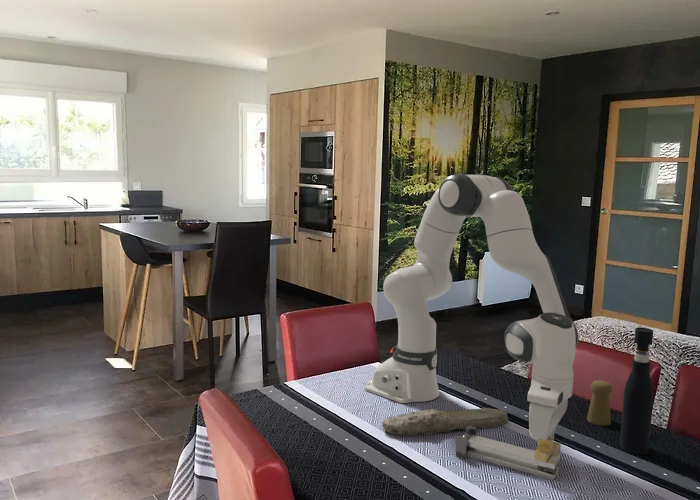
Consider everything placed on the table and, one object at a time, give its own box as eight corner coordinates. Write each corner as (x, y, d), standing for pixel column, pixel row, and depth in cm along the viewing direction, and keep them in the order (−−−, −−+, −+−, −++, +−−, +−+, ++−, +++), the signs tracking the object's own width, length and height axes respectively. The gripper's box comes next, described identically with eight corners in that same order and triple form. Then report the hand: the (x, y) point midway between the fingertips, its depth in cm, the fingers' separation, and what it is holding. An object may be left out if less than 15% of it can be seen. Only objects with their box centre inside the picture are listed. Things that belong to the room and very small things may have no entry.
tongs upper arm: (457, 447, 140) (458, 437, 140) (465, 439, 144) (465, 429, 144) (553, 473, 129) (554, 462, 128) (558, 464, 133) (559, 453, 132)
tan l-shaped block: (532, 459, 130) (533, 443, 130) (538, 450, 135) (539, 435, 134) (546, 463, 129) (547, 447, 128) (552, 453, 133) (553, 438, 132)
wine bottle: (614, 442, 147) (624, 326, 143) (638, 441, 148) (649, 325, 143) (628, 455, 141) (639, 333, 136) (654, 454, 141) (665, 333, 137)
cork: (613, 426, 156) (616, 387, 155) (589, 424, 157) (592, 385, 156) (608, 417, 162) (611, 378, 160) (585, 415, 163) (587, 377, 162)
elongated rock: (515, 433, 155) (497, 419, 165) (517, 414, 154) (498, 401, 164) (388, 440, 146) (377, 425, 156) (389, 419, 146) (378, 405, 156)
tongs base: (455, 455, 140) (456, 436, 139) (466, 443, 146) (467, 425, 145) (551, 483, 128) (553, 462, 127) (559, 469, 134) (561, 449, 133)
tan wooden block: (537, 464, 136) (538, 450, 135) (544, 453, 141) (545, 439, 141) (553, 469, 134) (554, 454, 133) (559, 457, 139) (560, 443, 139)
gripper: (549, 369, 145) (545, 422, 147) (525, 396, 128) (521, 456, 130) (576, 374, 141) (572, 429, 143) (555, 403, 124) (550, 464, 126)
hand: (548, 442), depth 136 cm, fingers closed
